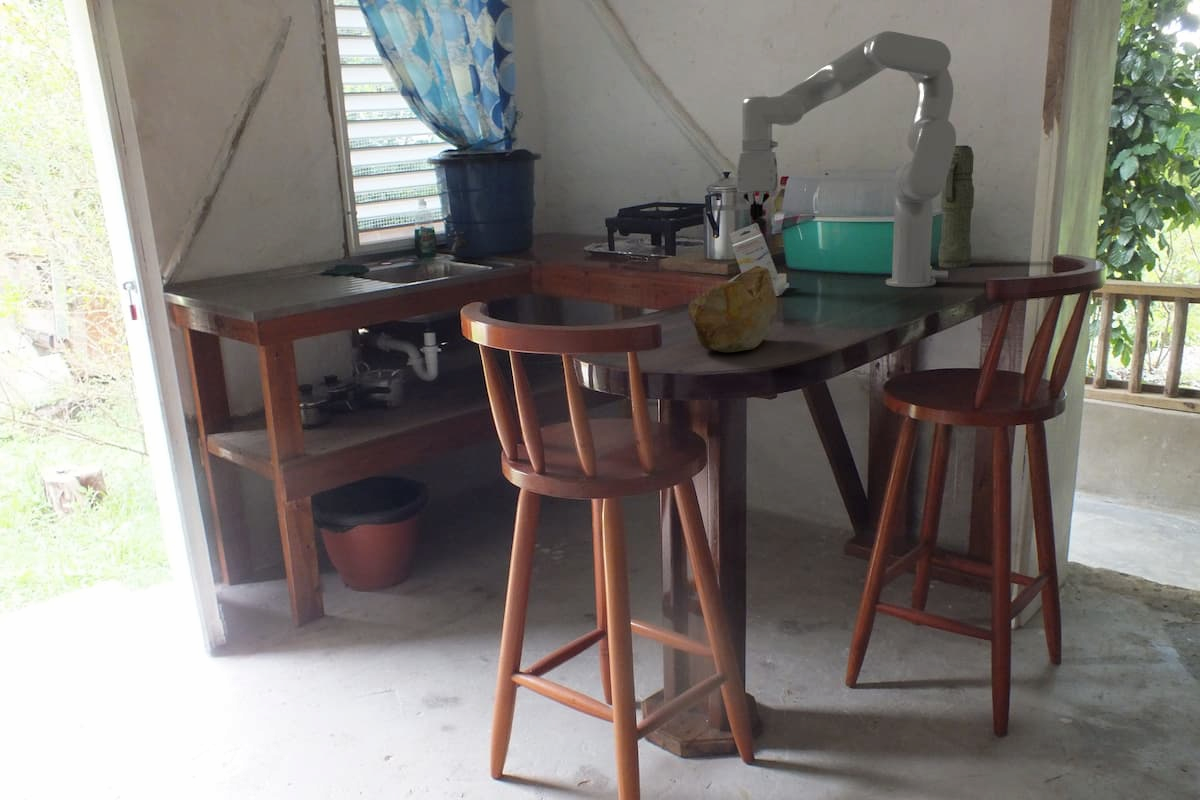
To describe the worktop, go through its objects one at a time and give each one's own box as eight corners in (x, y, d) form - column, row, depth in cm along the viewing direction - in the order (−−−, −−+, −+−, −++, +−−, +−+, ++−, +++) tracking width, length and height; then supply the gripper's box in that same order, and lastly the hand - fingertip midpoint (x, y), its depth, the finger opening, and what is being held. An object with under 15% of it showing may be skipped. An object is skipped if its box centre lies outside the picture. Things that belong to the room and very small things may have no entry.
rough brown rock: (713, 332, 207) (712, 262, 203) (787, 337, 198) (787, 264, 194) (662, 353, 188) (660, 277, 184) (741, 360, 179) (741, 280, 175)
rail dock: (788, 288, 261) (789, 273, 260) (778, 297, 247) (778, 281, 246) (738, 287, 266) (737, 273, 265) (725, 296, 252) (724, 281, 251)
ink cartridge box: (747, 288, 254) (726, 236, 252) (747, 285, 259) (727, 234, 257) (777, 276, 252) (757, 223, 250) (778, 273, 257) (758, 221, 254)
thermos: (932, 270, 282) (937, 146, 273) (944, 265, 291) (950, 145, 282) (963, 271, 277) (970, 145, 268) (974, 266, 286) (981, 144, 277)
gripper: (788, 145, 248) (787, 218, 252) (731, 147, 253) (731, 218, 258) (783, 146, 241) (782, 220, 246) (725, 148, 246) (725, 221, 251)
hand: (756, 219), depth 252 cm, fingers closed
